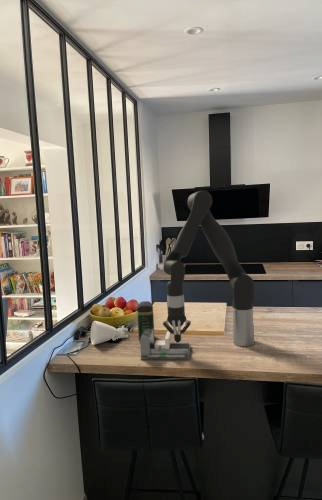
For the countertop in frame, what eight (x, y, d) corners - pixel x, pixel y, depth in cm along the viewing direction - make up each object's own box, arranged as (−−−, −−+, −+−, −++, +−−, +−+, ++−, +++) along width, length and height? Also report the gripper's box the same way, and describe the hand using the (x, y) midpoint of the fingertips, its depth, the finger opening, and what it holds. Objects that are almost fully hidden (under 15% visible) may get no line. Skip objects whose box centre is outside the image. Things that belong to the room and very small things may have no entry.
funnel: (129, 317, 191) (95, 316, 184) (133, 337, 184) (98, 336, 176) (122, 329, 199) (89, 328, 191) (126, 349, 191) (91, 349, 184)
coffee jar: (154, 342, 182) (152, 305, 179) (138, 342, 182) (135, 306, 179) (154, 334, 192) (152, 299, 189) (139, 335, 192) (137, 300, 189)
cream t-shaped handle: (171, 345, 172) (170, 331, 171) (168, 356, 162) (167, 340, 161) (157, 345, 173) (156, 331, 172) (153, 356, 163) (152, 340, 162)
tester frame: (190, 346, 174) (189, 328, 172) (188, 360, 160) (188, 339, 159) (146, 346, 177) (145, 328, 175) (140, 359, 163) (139, 339, 162)
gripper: (191, 301, 167) (193, 338, 170) (162, 302, 169) (164, 338, 172) (190, 306, 160) (192, 345, 162) (159, 307, 162) (162, 345, 164)
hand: (177, 341), depth 167 cm, fingers closed
